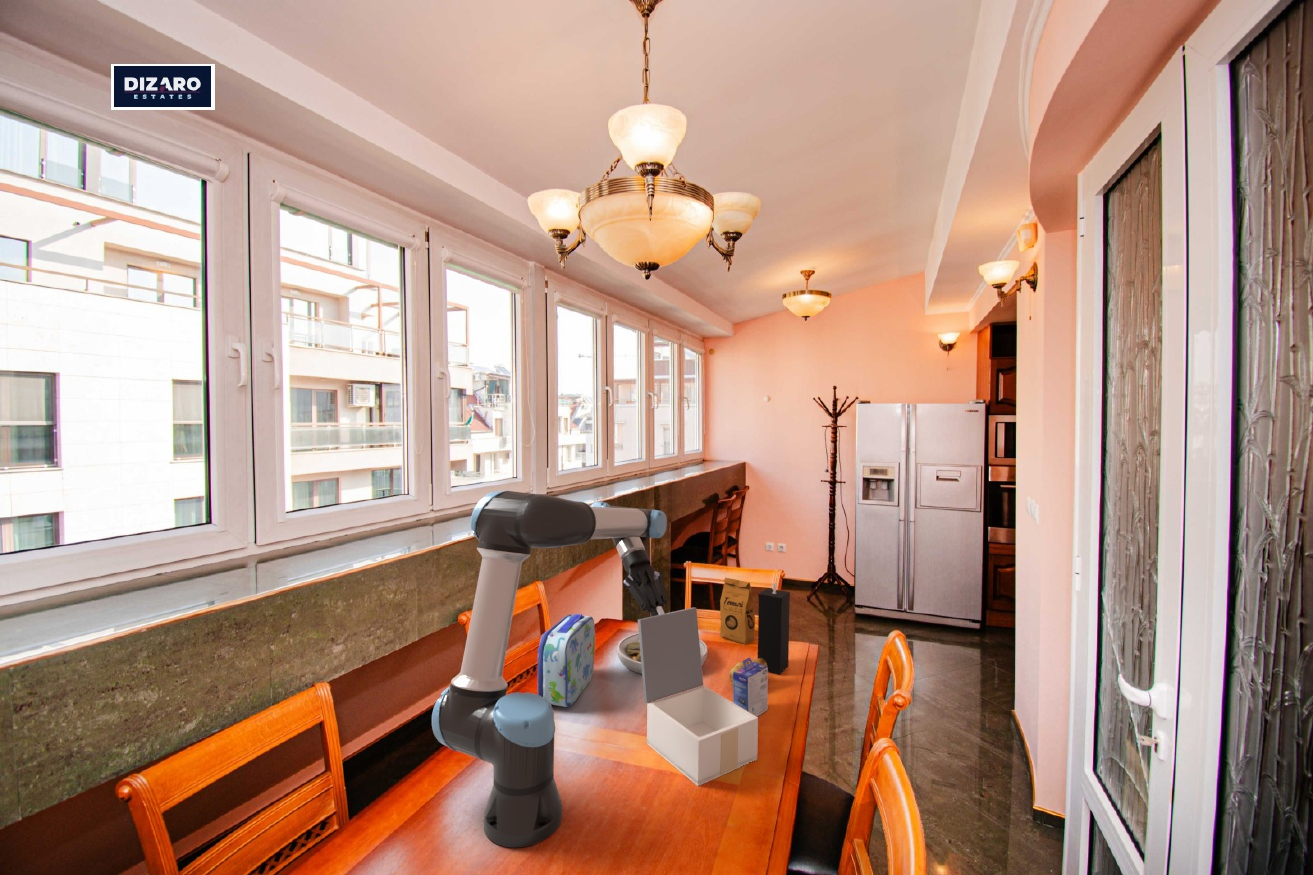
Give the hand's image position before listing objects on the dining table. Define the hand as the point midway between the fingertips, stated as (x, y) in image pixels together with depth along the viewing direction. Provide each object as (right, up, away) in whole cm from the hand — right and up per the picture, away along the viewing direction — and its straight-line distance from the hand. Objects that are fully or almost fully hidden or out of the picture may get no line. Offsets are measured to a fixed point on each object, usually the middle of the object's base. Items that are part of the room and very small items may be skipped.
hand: (666, 630), depth 152 cm
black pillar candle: (+35, -24, +34) cm, 55 cm away
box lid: (+2, -4, -4) cm, 6 cm away
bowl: (-1, -24, +39) cm, 46 cm away
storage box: (+8, -24, -14) cm, 29 cm away
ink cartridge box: (+23, -24, +5) cm, 34 cm away
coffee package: (+27, -23, +59) cm, 69 cm away
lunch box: (-29, -23, +16) cm, 41 cm away
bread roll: (+24, -24, +21) cm, 40 cm away
